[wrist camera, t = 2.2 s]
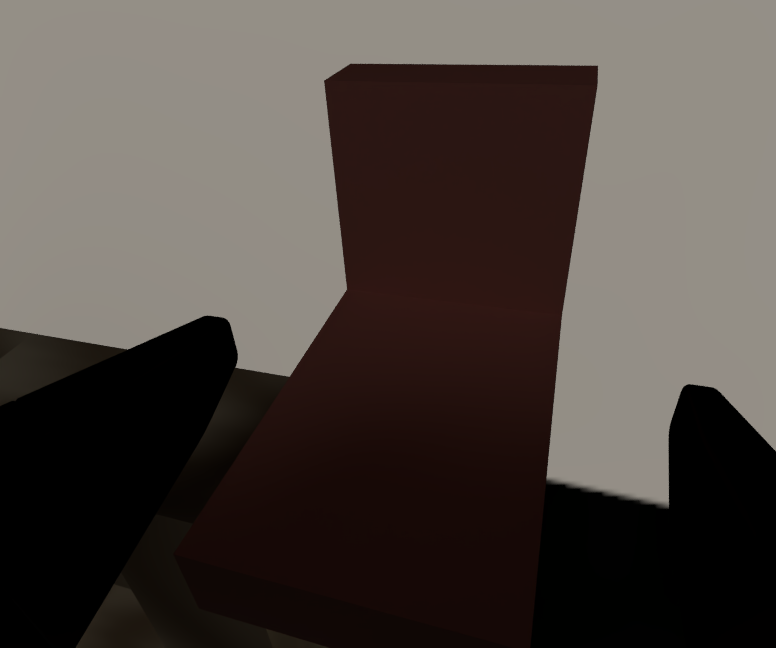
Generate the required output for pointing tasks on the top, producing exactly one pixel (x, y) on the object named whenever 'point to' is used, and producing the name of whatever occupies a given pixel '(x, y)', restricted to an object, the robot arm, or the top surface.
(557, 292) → the bracket
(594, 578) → the top surface
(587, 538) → the top surface
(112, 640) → the well block
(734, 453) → the robot arm
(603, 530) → the top surface
